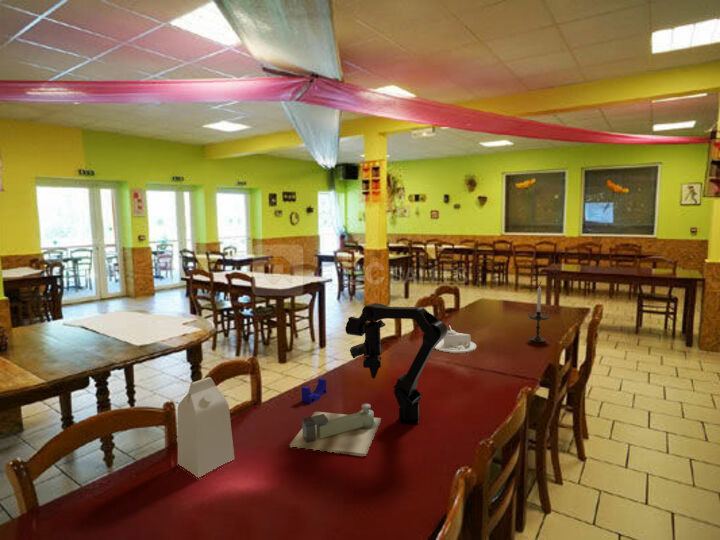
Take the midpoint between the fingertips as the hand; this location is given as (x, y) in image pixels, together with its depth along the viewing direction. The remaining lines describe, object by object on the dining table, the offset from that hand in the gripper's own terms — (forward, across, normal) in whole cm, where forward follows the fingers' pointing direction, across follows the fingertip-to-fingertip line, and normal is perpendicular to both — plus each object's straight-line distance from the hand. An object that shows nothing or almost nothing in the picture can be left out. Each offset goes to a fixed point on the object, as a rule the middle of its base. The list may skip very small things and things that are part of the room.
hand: (373, 378), depth 163 cm
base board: (+13, +18, -12) cm, 25 cm away
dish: (+13, -83, +41) cm, 93 cm away
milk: (+13, +38, -49) cm, 63 cm away
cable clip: (+13, -11, -24) cm, 30 cm away
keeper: (+12, +23, -18) cm, 31 cm away
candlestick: (+14, -96, +90) cm, 133 cm away
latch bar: (+11, +17, -9) cm, 22 cm away
